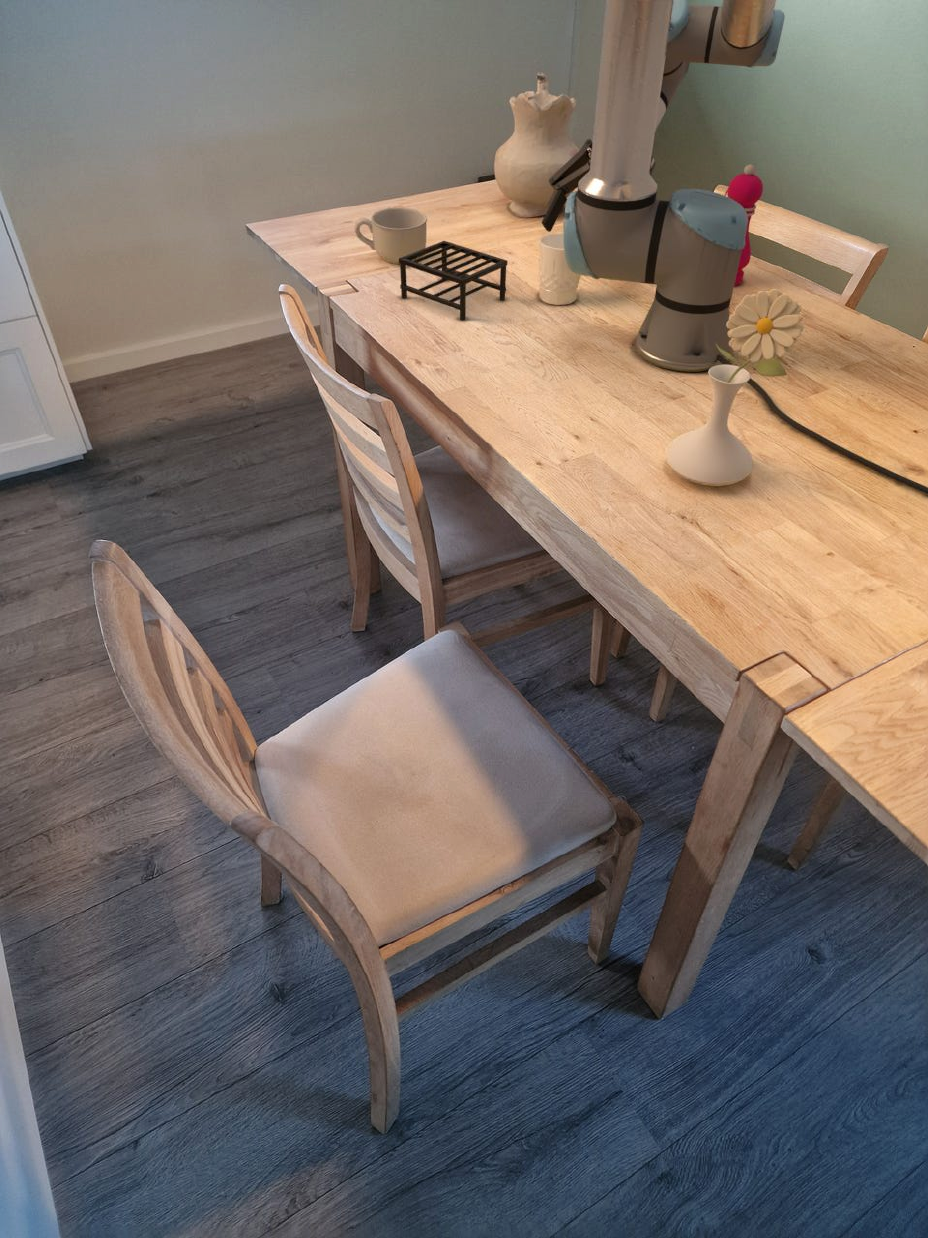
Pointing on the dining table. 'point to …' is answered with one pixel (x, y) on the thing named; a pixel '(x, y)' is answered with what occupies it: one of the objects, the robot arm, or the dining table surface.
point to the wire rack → (452, 273)
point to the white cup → (556, 272)
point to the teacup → (395, 232)
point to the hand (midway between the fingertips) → (576, 236)
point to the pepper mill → (745, 193)
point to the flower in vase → (737, 388)
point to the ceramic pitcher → (535, 149)
